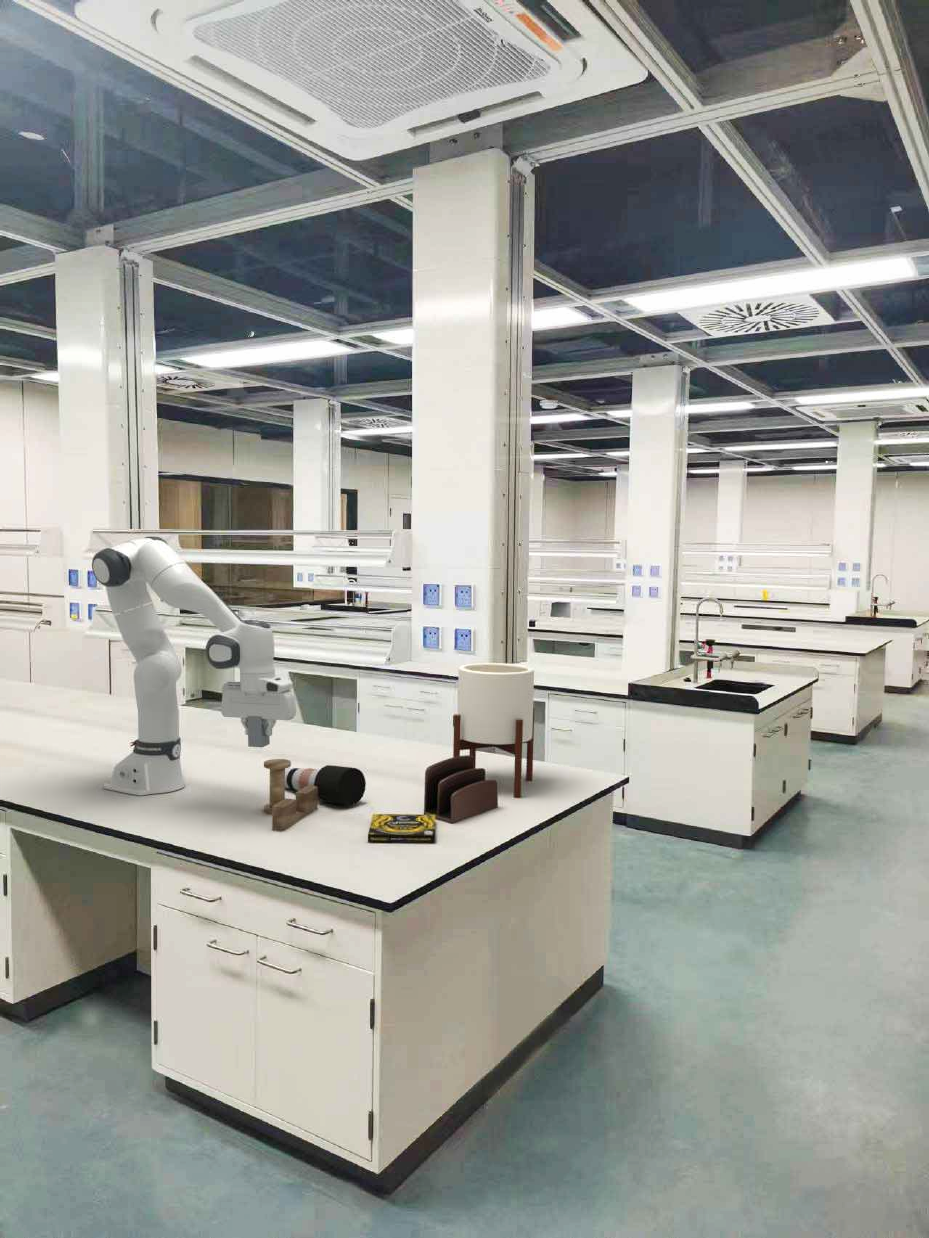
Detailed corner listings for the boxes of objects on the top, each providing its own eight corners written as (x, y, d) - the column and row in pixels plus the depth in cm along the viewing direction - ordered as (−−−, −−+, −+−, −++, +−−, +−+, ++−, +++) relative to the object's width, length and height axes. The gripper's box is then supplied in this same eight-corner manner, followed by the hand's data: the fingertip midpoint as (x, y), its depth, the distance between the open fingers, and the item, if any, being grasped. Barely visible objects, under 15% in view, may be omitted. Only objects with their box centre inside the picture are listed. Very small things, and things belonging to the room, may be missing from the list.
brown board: (272, 829, 209) (272, 806, 208) (307, 807, 227) (307, 785, 227) (283, 831, 208) (283, 807, 207) (317, 808, 227) (317, 786, 226)
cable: (283, 797, 252) (294, 765, 255) (359, 809, 230) (369, 774, 233) (257, 787, 245) (269, 754, 248) (333, 799, 223) (344, 763, 226)
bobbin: (258, 812, 222) (259, 764, 221) (271, 805, 229) (271, 758, 228) (282, 815, 220) (283, 766, 219) (295, 807, 227) (295, 760, 226)
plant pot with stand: (537, 779, 261) (540, 665, 258) (522, 799, 239) (525, 675, 236) (467, 773, 267) (469, 661, 264) (446, 792, 245) (449, 670, 242)
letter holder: (423, 816, 223) (424, 763, 222) (470, 800, 238) (471, 751, 237) (451, 824, 216) (452, 770, 215) (498, 807, 232) (499, 757, 231)
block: (248, 746, 219) (247, 716, 218) (256, 743, 222) (255, 713, 222) (262, 747, 218) (261, 717, 217) (269, 744, 221) (268, 714, 221)
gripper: (215, 682, 218) (216, 735, 219) (287, 686, 213) (288, 740, 214) (228, 679, 224) (229, 730, 225) (298, 682, 219) (299, 734, 220)
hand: (258, 735), depth 220 cm, fingers closed on block, 4 cm apart
